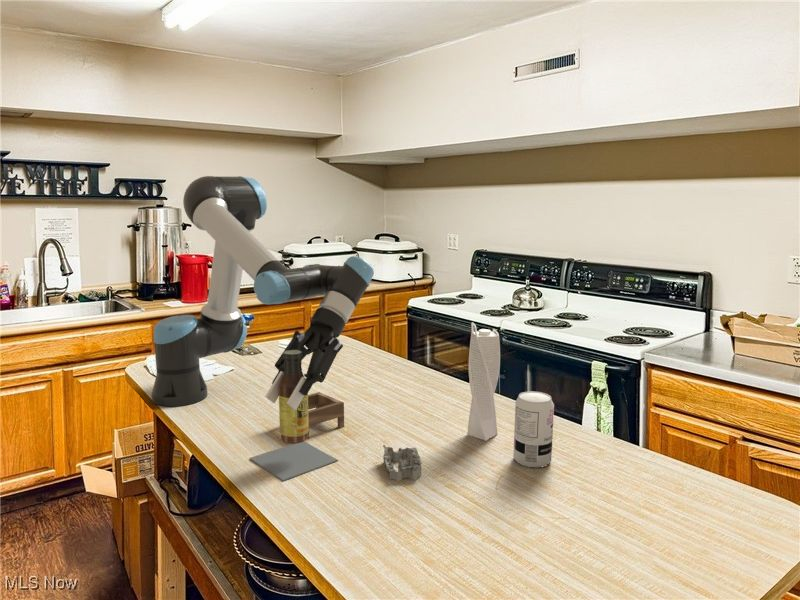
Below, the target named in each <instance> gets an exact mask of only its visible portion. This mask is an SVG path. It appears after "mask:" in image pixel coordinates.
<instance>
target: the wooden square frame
mask: <svg viewBox="0 0 800 600" xmlns="http://www.w3.org/2000/svg"><path fill="white" fill-rule="evenodd" d="M336 419H337V428H340V429H343V428H345V402H343V401H341V400H339V399H337V398H334V397H332V396H329V395H327V394H324V393H322V392H320V391H318V392H314V393H310V394H308V425H309V428H310V427H312V426H315V425H319V424H322V423H325V422H329V421H331V420H332V421H333V420H336ZM308 439H310V431H309V432H308V438H307V440H308Z"/></svg>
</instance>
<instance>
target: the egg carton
mask: <svg viewBox="0 0 800 600" xmlns="http://www.w3.org/2000/svg"><path fill="white" fill-rule="evenodd" d="M382 447H383V450H384V451H383V452H384V454H383V464H384V466H385V469H386V472H388V473H389V479H390V480H395V481H396V482H401V481H402V479H405V478H409V479H411V480H418V478H420V477H422V464H423V462H422V459H421V457H420V454H419V452H418V449H417V447H408V446H406V447H405V448H402V447H398V450H395V451H394V448H393V447H392V446H386V445H385V444H384V445H383V446H382ZM391 461H393V462H392V463H391ZM394 462H397V463H396V464H395V463H394ZM394 464H395V465H394ZM394 467H395V468H397V469H398V470H396V469H395V468H394Z"/></svg>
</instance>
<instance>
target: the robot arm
mask: <svg viewBox="0 0 800 600" xmlns="http://www.w3.org/2000/svg"><path fill="white" fill-rule="evenodd" d="M182 200H183V202H182V203H183V208H184V212H185V214H186V216H187V218H188V219H189V221H191V223H192V224H193V225H194V226H195V227H196V228H197V229H198V230H201V231H205V232H206V233H207V234H208V236H210V237H211V238H212V239H213V240H214V241H215V242H214V248H213V249H214V250H213V256H212V257H213V258H212V265H211V273H210V280H209V287H208V296H207V302H206V303H205V304H204V305H203V306H201V309H200V315H199V317H198V318H197V317H196V315H193V314H181V315H173V316H169V317H166V318H163V319H161V320H160V321H158V322H156V324H155V325H154V327H153V343H154V354H155V355H154V357H155V366H156V367H155V368H156V376H155V380H154V384H153V386H152V390H151V401H152V403H153V404H155V405H157V406H161V407H181V406H182V407H183V406H186V405H191V404H196V403H198V402H201V401H203V400H205V399H206V398H207V397H208V386H207V383H206V382H205V379H204V376H203V374H202V371H201V369H200V368H201V367H200V359H201V358H202V359H203V358H206V357H210V356H213V355H218V354H223V353H230V352H232V351H234V350H237V349H239V348H240V347H242V346H243V344H244V343H245V341H246V338H247V334H248V327H247V325H246V324H247V321H246V319H245V317H244V316H243V314H242V311H241V310H240V308H239V307H238V304H239V296H240V291H241V285H242V283H241V282H242V277H243V276H242V275H243V270H244V273H246V274H247V275H248V276H249V277H250V279H252V280H253V281H254V282H253V291H254V293H255V294H256V298H257V300H258V301H260V303H261V304H264V305H280V304H284V303H289V302H294V301H299V300H304V299H305V300H306V299H310V298H311V299H313V298H316V297H323V299H322V300H321V301H320V303H319V305H318V308H317V309H316V310H315V311H314V314H313V315H312V316H311V318H310V319H309V320H310V321H309V322H310V325H309V327H308V328H307V329H306V330H304V331H303V332H300V331H299V330H295V331H294V333H293V335H292V337H291V340H290V341H289V343H288V344H287V346H286V347H285V349H284V350H283V352H284V351H287V350H300V351H301V352H302V359H301V362H302V361H303V360H304V358H306V356H307V355H310V354H311V353H312V354H311V358H310V359H309V360H310V361H309V364H308V368H307V370H306V371H307V372H306V373H303V375H304V377H302V378H301V379H300V381H299V383H298V384H297V386H296V388H295V390H294V391H293V393H292V395H291V396H290V398H289V400H288V402H287V404H288V405H289V406H290V407H291V408H293V409H294V410H296V409H297V408H298V406H299V404H300V402H301V401H302V399H303V397H304V395H305V396H306V395H307V394H308V395H309V392H310V390H311V388H312V386H313V385H314V384H316V383H324V381H325V379H326V377H327V375H328V373H329V370H330V369H331V366H332V365H333V363H334V361H335V359H336V357H337V356H338V353H339V352H340V351H341V350H342V349H343V347H344V345H343V344H342V342H341V341H340V340H339V339H338V338H339V337H340V336H341V334H342V333H343V330H344V328H345V326H346V323H348V321H349V319H350V318H351V317H352V314H353V313H354V311H355V309H356V308H357V306H358V304H359V303H360V301H361V298H362V297H363V295H364V293H365V292H366V290H367V289H368V288H369V286H370V284H371V281H372V279H373V277H374V274H375V271H374V268H373V266H372V265H371V264H370V262H368V261H367V260H365V259H364V258H362V257H360V256H355V255H353V256H352V255H351V256H350V257H348V258H347V259H346V260H345V261H344V262H343V265H327V264H326V265H324V264H320V263H314V264H305V265H303V267H295V268H288V267H286V266H285V265H284V264H283V263H282V262H281V261H280V260H279V258H277V257H276V256H275V255H274V254H273V253H272V252H271V251H270V250H269V249H268V248H267V247H266V246H265V245H264V244H263V243H262V242H261V241H260V240H259V239H258V238H257V237H256V236H255V235H254V234H252V233H251V232H252V231H254V229H255V225H256V221H257V220H259V219H261V218H263V217H264V216H265V214H266V212H267V206H268V201H267V195H266V192H265V190H264V188H263V186H262V185H261V183H260V182H259V181H258V180H256V179H254V178H252V177H245V176H215V175H214V176H213V175H204V176H201V177H198V178H196V179H194V180H193V181H191V182H190V183H189V184H188V186H187V188H186V189H185V192H184V195H183V199H182ZM283 352H282V353H281V355H280V356H279V357H278V359H277V361H276V362H275V363H274V367H275V368H276V369H277V370H278V372H277V373H276V375H275V377H274V379H273V380H272V382H271V386H270V387H269V389H268V390H267V393H266V395H265V396H264V398H266V399H267V400H269V401H270V403H272V404H275V403H276V402H277V400H278V399H279V383H280V380H281V377H282V376H283V374H284V359H283Z"/></svg>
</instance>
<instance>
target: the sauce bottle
mask: <svg viewBox="0 0 800 600" xmlns="http://www.w3.org/2000/svg"><path fill="white" fill-rule="evenodd" d="M282 353H283V359H284V374H283V376H282V377H281V380H280V383H279V397H278V409H279V410H278V411H279V413H278V414H279V418H278V419H279V434H280V440H281V442H283V443H285V444H288V445H291V444H296V443H301V442H306V441H307V440H308V439H307V438H308V432H309V433H310V427H309V425H308V411H309V410H308V395H309V393H308V394H307V395H306V396H305V395H304V397H303V399H302V401H301V402H300V404H299V406H298V408H297V409H296V410H294V409H293V408H291V407H290V406H289V405H288V404H287V402H288V400H289V398H290V396H291V395H292V393H293V391H294V390H295V388H296V386H297V384H298V383H299V381H300V379H301V378H302V377H305V376H304V373H303V367H302V361H301V359H302V352H301V351H300V350H287V351H284V350H283V352H282Z"/></svg>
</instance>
